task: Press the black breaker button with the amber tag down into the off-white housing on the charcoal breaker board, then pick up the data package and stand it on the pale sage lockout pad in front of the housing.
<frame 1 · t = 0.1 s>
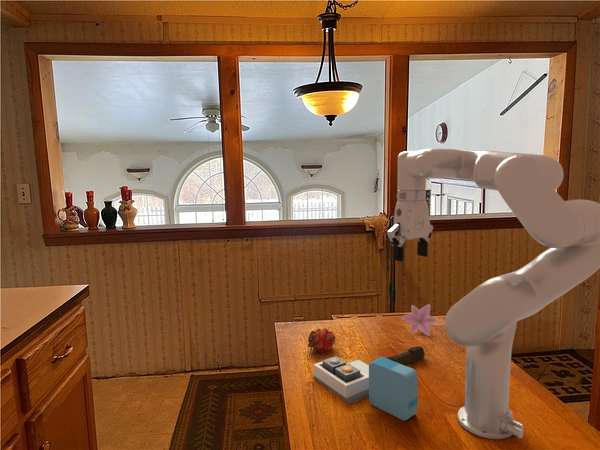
hand: (410, 258, 113), 37 cm above the table, tool pointing down, fingers open, 9 cm apart
lily: (419, 331, 155), on the table
hand tool: (400, 365, 129), on the table
grey square block: (334, 365, 119), point 5 cm above the table, slide at 0.0 cm
breaker board: (354, 381, 119), on the table
data package: (392, 410, 105), on the table
tagged breaker: (347, 373, 114), point 5 cm above the table, slide at 0.0 cm
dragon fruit: (322, 350, 141), on the table
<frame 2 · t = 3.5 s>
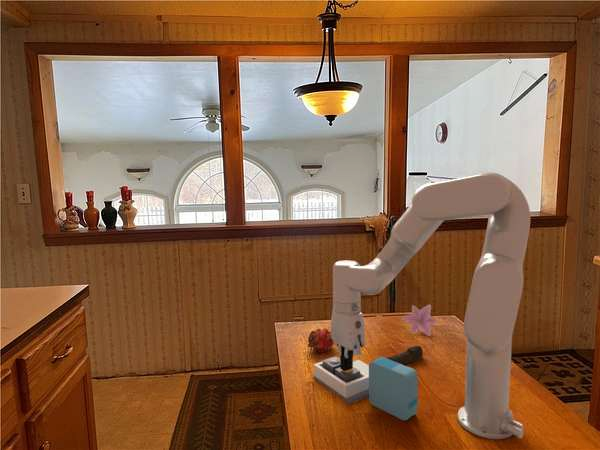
hand: (346, 368, 114), 6 cm above the table, tool pointing down, fingers closed
tagged breaker: (347, 374, 114), point 4 cm above the table, slide at 0.2 cm, touching gripper
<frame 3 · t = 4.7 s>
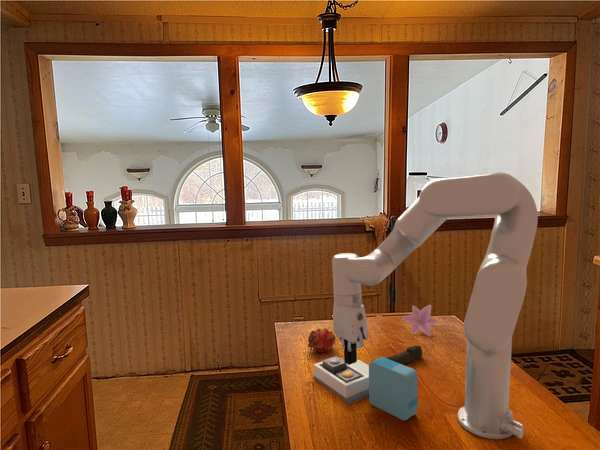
hand: (350, 362, 113), 8 cm above the table, tool pointing down, fingers closed
tagged breaker: (347, 379, 114), point 3 cm above the table, slide at 1.5 cm
everything else where it was.
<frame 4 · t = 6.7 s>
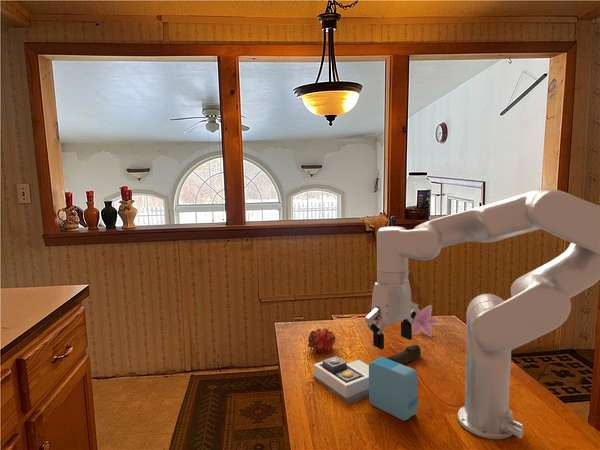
hand: (392, 342, 102), 18 cm above the table, tool pointing down, fingers open, 9 cm apart
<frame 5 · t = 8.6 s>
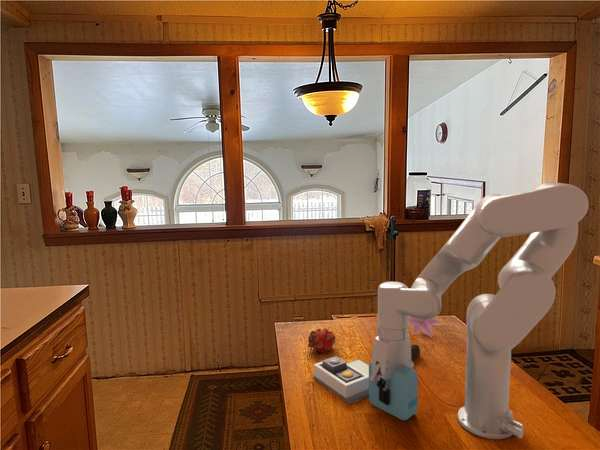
hand: (392, 398, 104), 3 cm above the table, tool pointing down, fingers closed on data package, 5 cm apart
data package: (392, 409, 105), on the table, touching gripper
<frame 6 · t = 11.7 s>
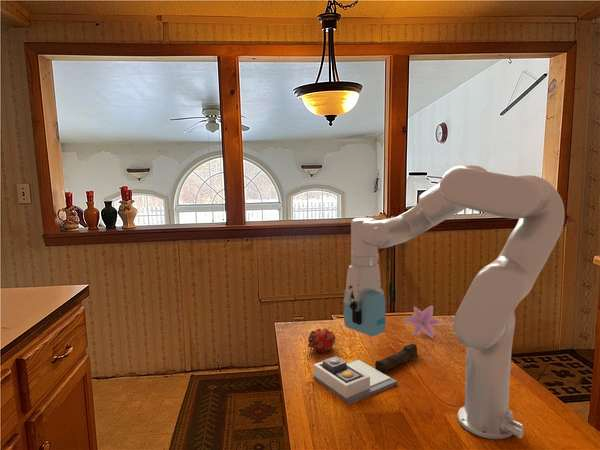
hand: (364, 320, 119), 18 cm above the table, tool pointing down, fingers closed on data package, 5 cm apart
data package: (364, 330, 120), point 14 cm above the table, touching gripper
when the fingers open (6 cm above the table, at t = 14.9 s): data package drops 1 cm, resting on breaker board.
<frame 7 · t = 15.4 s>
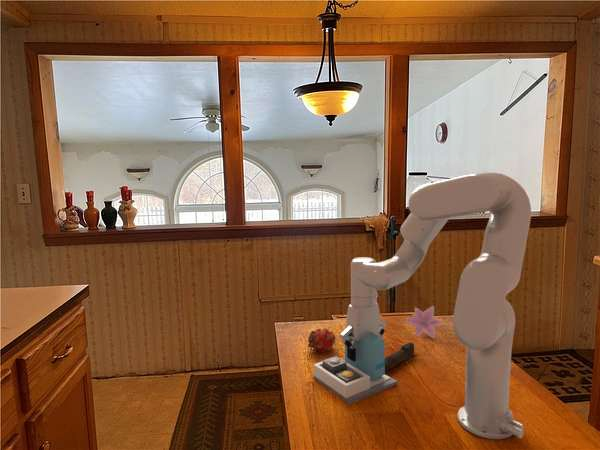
hand: (364, 355, 121), 7 cm above the table, tool pointing down, fingers open, 9 cm apart
data package: (364, 372, 122), point 1 cm above the table, touching breaker board
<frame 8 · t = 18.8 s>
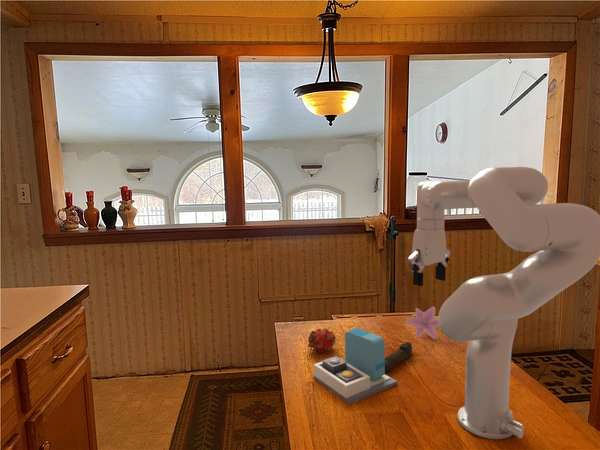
hand: (429, 282, 119), 28 cm above the table, tool pointing down, fingers open, 9 cm apart
at the end: tagged breaker slide at 1.5 cm; data package 0.1 cm from the target spot on the breaker board, point 1.1 cm above the breaker board's base; data package tilted 0° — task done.
